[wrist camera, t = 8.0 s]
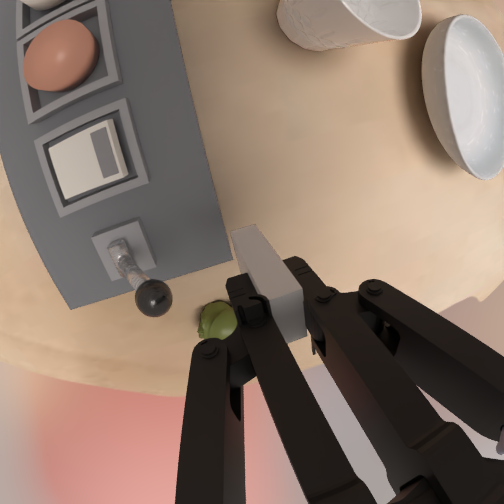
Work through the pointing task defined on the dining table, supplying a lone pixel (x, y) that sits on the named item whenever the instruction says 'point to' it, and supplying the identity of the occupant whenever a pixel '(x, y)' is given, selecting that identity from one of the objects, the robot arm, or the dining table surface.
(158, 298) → the toggle lever
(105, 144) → the rocker switch
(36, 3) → the cream button
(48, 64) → the terracotta button
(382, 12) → the white cup
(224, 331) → the green rounded piece
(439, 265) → the dining table surface
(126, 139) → the switch panel
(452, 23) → the serving bowl
